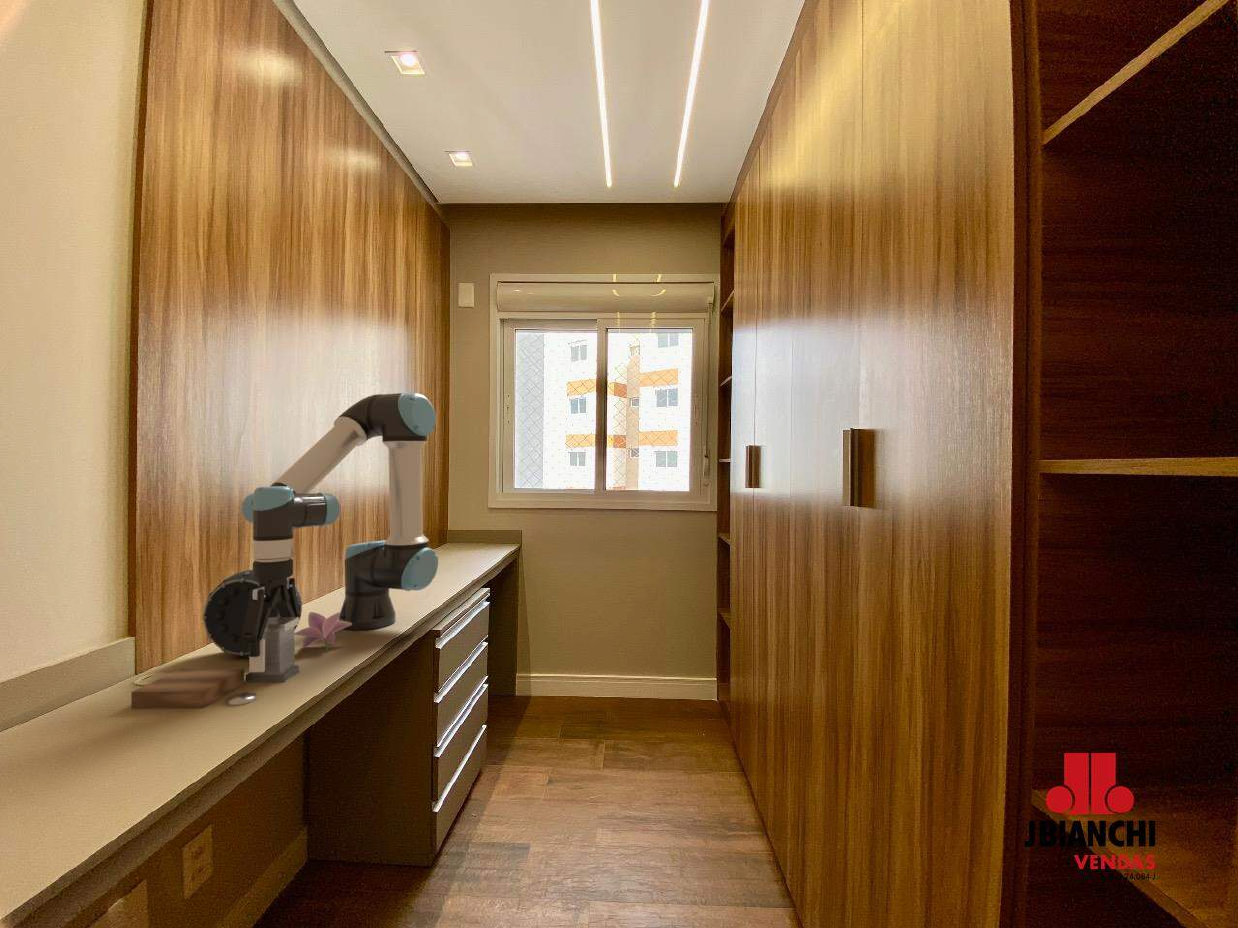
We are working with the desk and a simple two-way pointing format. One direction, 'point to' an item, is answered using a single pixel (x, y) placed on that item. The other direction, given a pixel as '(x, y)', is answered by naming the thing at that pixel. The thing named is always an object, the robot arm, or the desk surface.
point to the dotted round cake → (233, 612)
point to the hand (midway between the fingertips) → (272, 662)
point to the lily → (322, 628)
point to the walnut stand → (188, 688)
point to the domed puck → (241, 698)
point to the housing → (277, 651)
